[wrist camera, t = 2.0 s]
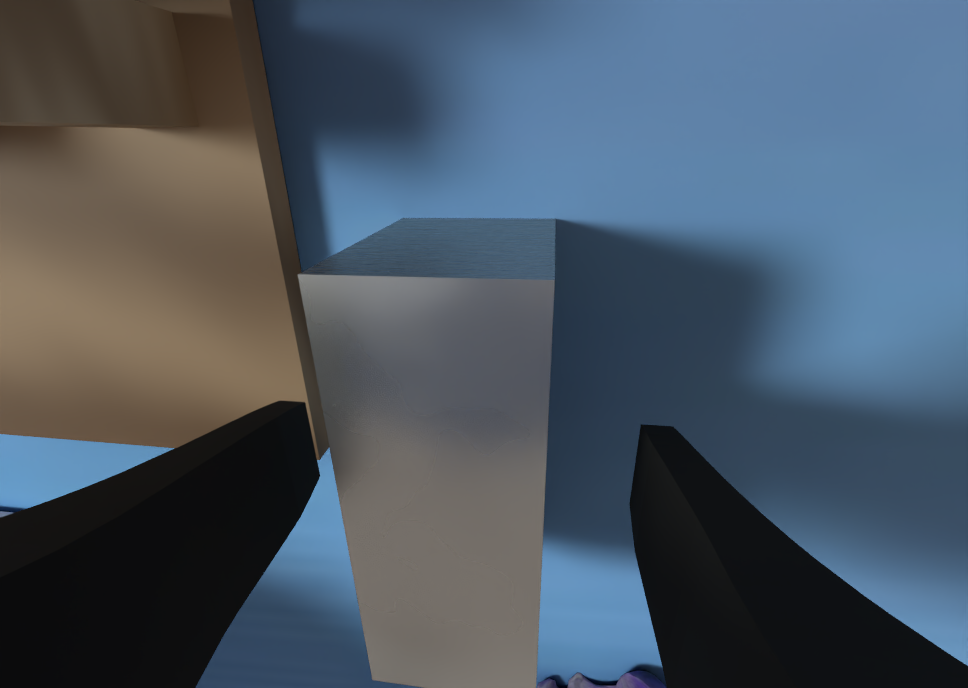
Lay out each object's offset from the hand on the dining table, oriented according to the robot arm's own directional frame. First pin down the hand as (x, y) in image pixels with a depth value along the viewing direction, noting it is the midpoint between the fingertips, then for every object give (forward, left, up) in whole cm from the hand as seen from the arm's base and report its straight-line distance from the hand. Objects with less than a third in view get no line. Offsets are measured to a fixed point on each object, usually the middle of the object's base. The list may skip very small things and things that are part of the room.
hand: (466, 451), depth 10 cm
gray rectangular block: (0, 0, -3) cm, 3 cm away
